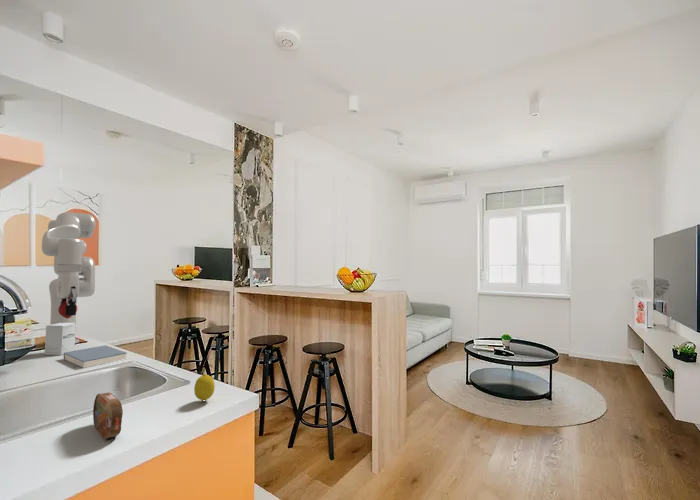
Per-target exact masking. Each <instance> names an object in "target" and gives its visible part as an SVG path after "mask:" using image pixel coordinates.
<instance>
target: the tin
mask: <svg viewBox="0 0 700 500" xmlns="http://www.w3.org/2000/svg"><path fill="white" fill-rule="evenodd" d="M93 401H94V403H93V411H92V412H93V413H92V416H93V418H92V419H93V421H92V422H93V426H94V429H95V430H96V431H97V432H98V433H99V435H100V436H101V437H102V439H104V440H107V439H110V438H114V437H117V436H119V435H120V433H121V431H122V422H123V421H122V420H123V415H124V414H123V410H124V409H123V405H122V402H121V401H120V400H119V398H117V397H116V396H115V395H114V394H113V393H112V392H102V393H97V394H96V396H95V399H94V400H93Z"/></svg>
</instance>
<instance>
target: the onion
mask: <svg viewBox="0 0 700 500" xmlns="http://www.w3.org/2000/svg"><path fill="white" fill-rule="evenodd" d="M69 301H70V299H69ZM66 306H67V300H66V301H65V302H63V303H62V304H61V305H60V306H59V309H58V311H59V314H60V315H61V316H63V317H65V318H67V319H68V318H70V317H71V316H73V315H71V316H66V315H65V313H66ZM77 311H78V306H77V304H76V313H77Z"/></svg>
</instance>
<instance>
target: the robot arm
mask: <svg viewBox="0 0 700 500" xmlns="http://www.w3.org/2000/svg"><path fill="white" fill-rule="evenodd" d="M96 225H97V223H96V219H95V216H93V215H92V214H91V213H81V212H69V211H68V212H67V211H66V212H61V213H59V214H57V216H56V218H55V219H53V220H50V221H48V224H47V231H45V232H44V233H43V235H42V239H41V252H42V253H43V255H45V256H48V257H53V271H54V273H55V274H56V275H57V278H55V279H53V280H51V281H50V283H49V285H48V290H49V296H50V320H49V321H50V322H49V323H50V324H49V325H52V324H57V323H77V312H76V305H77V301H78V300H77V298H87V297H92V296H93V295H94V293H95V290H96V264H95V260H94V258H92V257H90V256H83V255H84V254H85V253H87V249H88V248H87V243H86V241H84V240H83V239H91V237H92V236H93V235H94V232H95V229H96ZM80 276H82V277H80ZM69 299H70V301H69ZM66 300H67V306H66V313H65V315H66V316H71V315H73V316H71V317H70V318H68V319H67V318H65V317H63V316H61V315H60V314H59V311H58V309H59V306H60V305H61V304H62V303H63V302H65V301H66ZM76 328H77V327H76V324H75V331H76ZM44 338H45V339H46V336H45V337H44ZM79 342H80V339H79V338H76V337H75V344H78V343H79Z"/></svg>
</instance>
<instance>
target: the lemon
mask: <svg viewBox="0 0 700 500" xmlns="http://www.w3.org/2000/svg"><path fill="white" fill-rule="evenodd" d="M215 385H216V384H215V380H214V379H213V377H212V376H210V375H209V374H206V373H204V374H203V375H201V376H199V377H198V378H197V379H196V381H195V384H194V395H195V397H196V398H197V399H198V400H200V401H202V400H206V401H207V400H208V399H210V398H211V397H212V396H213V394H214V392H215V388H216V386H215Z"/></svg>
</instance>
